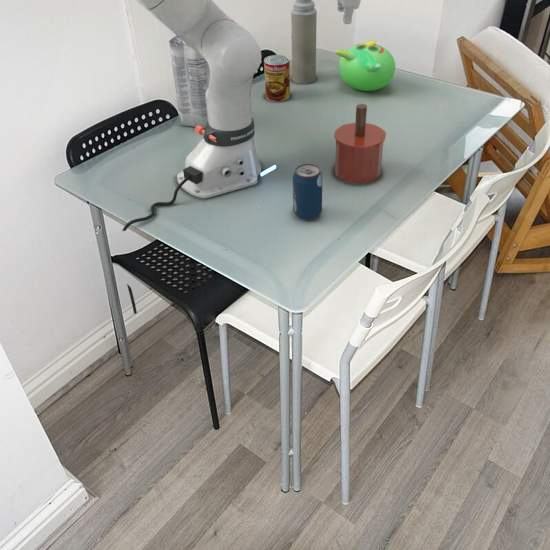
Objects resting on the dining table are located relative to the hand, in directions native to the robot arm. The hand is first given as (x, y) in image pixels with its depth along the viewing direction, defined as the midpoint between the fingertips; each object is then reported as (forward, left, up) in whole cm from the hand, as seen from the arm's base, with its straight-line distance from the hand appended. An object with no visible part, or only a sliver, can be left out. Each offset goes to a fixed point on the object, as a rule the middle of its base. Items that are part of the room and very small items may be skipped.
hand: (344, 16), depth 154 cm
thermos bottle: (+20, +40, -34) cm, 56 cm away
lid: (-8, -16, -24) cm, 30 cm away
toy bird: (+30, +21, -34) cm, 50 cm away
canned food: (+5, +35, -34) cm, 49 cm away
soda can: (-30, -22, -34) cm, 51 cm away
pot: (-8, -16, -34) cm, 38 cm away
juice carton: (-24, +36, -34) cm, 55 cm away
